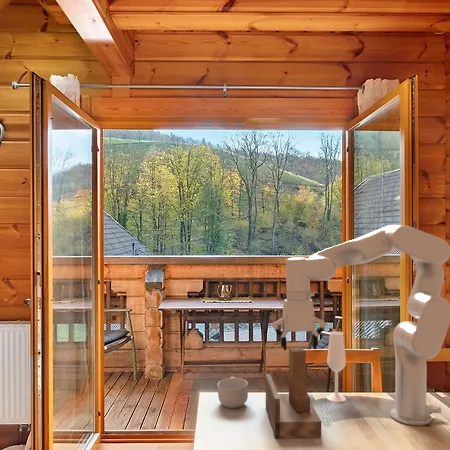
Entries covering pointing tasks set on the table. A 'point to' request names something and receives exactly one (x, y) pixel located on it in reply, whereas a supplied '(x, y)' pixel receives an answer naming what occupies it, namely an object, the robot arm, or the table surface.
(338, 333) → the champagne flute
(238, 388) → the teacup
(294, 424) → the walnut shelf
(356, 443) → the table surface
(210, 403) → the table surface
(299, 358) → the wooden block
